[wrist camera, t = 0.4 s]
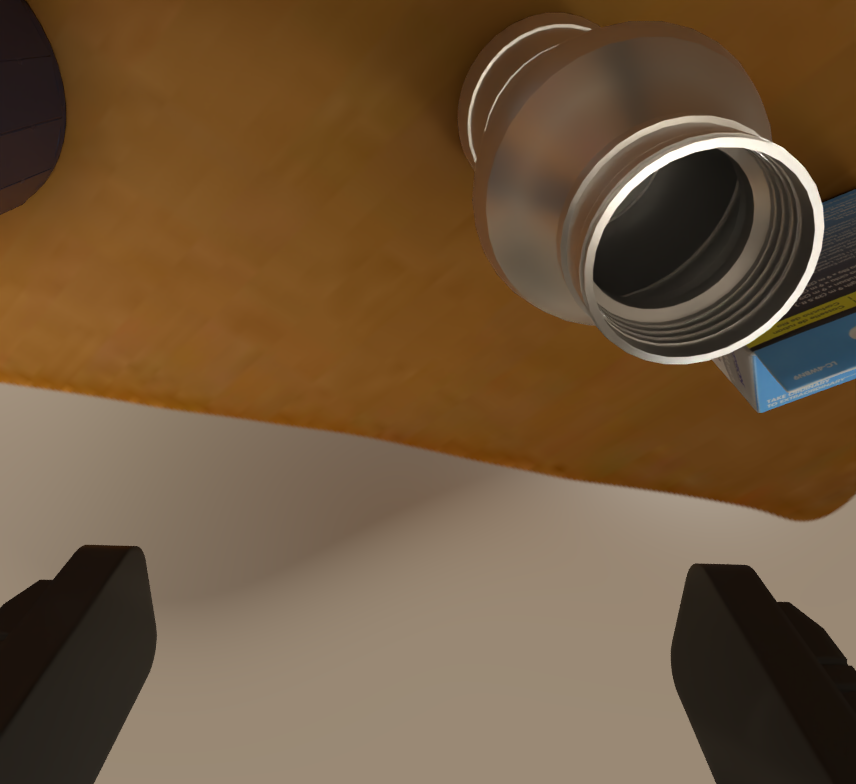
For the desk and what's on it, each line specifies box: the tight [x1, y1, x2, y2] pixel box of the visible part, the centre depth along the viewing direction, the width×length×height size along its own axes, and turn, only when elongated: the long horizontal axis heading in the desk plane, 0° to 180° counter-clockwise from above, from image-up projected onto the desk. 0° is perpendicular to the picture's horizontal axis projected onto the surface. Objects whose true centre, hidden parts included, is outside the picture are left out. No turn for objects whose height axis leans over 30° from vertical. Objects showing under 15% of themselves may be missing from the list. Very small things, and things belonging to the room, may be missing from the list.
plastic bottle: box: [457, 13, 824, 364], centre depth 19 cm, size 6×7×20 cm
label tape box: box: [712, 189, 856, 413], centre depth 25 cm, size 9×4×12 cm, turn 115°
